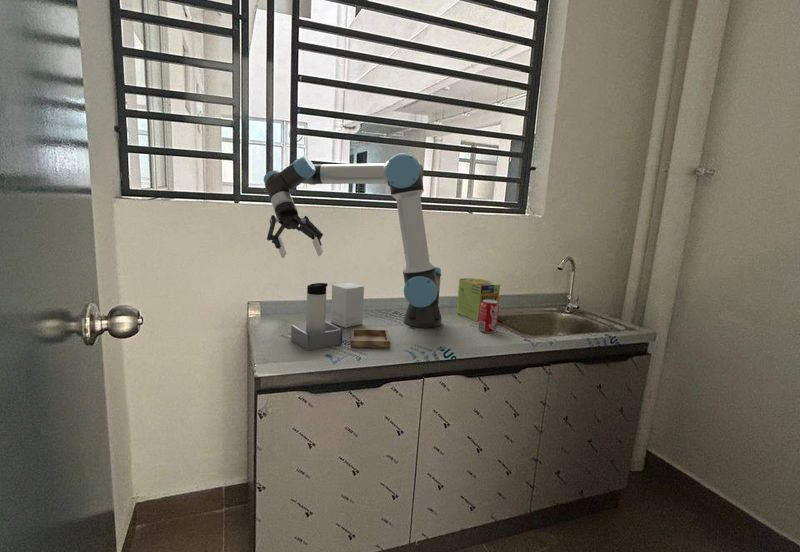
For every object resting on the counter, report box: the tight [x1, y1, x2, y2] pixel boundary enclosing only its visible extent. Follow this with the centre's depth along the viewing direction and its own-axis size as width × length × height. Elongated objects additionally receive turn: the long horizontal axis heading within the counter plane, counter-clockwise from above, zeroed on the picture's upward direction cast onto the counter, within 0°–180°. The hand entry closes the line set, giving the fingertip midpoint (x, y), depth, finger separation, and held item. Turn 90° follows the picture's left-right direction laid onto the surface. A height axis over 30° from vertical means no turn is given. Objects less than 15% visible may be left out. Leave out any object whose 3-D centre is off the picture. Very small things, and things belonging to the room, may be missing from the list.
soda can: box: [478, 299, 500, 334], centre depth 170 cm, size 7×7×12 cm
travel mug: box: [305, 282, 329, 334], centre depth 146 cm, size 6×7×20 cm
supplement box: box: [330, 282, 365, 328], centre depth 169 cm, size 9×9×15 cm
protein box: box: [456, 277, 501, 323], centre depth 191 cm, size 10×15×16 cm
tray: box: [350, 328, 391, 350], centre depth 150 cm, size 13×13×2 cm
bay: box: [290, 321, 343, 351], centre depth 147 cm, size 12×13×5 cm
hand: (302, 254), depth 151 cm, fingers open, 13 cm apart
